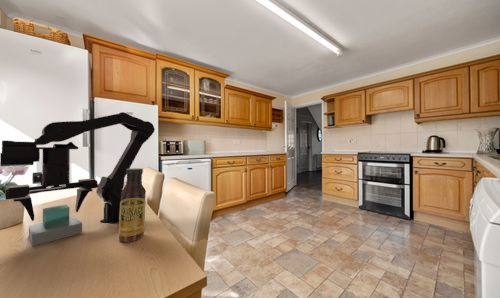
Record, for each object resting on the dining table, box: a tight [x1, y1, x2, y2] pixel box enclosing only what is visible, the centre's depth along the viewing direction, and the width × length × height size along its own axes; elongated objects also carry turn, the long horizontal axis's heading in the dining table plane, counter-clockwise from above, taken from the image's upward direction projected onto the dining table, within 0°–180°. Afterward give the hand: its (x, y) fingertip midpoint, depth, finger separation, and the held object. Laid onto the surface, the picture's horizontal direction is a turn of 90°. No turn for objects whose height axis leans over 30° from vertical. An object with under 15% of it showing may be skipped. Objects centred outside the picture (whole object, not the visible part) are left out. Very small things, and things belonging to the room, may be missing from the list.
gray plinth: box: [28, 216, 83, 247], centre depth 56 cm, size 10×10×3 cm
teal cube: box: [42, 203, 70, 229], centre depth 56 cm, size 5×5×5 cm
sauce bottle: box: [118, 167, 147, 243], centre depth 53 cm, size 7×6×20 cm
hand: (56, 216), depth 56 cm, fingers open, 9 cm apart
